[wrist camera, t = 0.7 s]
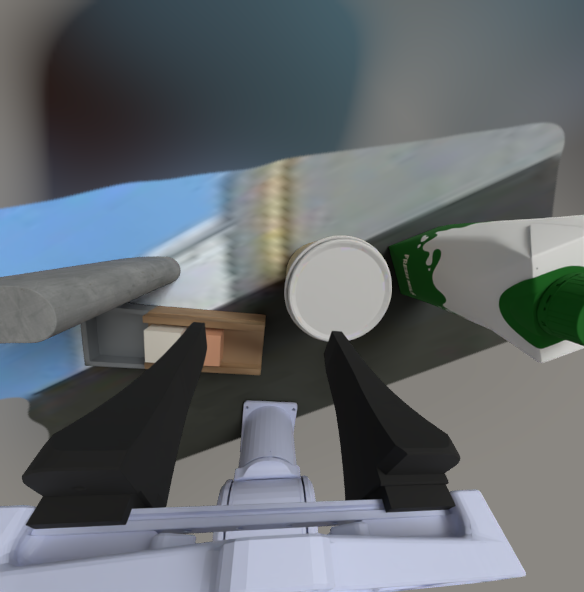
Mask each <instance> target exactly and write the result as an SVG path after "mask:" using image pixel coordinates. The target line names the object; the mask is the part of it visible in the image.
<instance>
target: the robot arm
mask: <svg viewBox="0 0 584 592" xmlns="http://www.w3.org/2000/svg"><path fill="white" fill-rule="evenodd" d="M206 352H207V339H206V328H205V323H201V322H193V323H191V325H190V326H189V327H188V328H187V329H186V331H185V332H184V333H183V334H182V335H181V336H180V338H179V339H178V340H177V341H176V342H175V343H174V344H173V345H172V346H171V347H170V348H169V349H168V351H167V352H166V353H165V354H164V355H163V356H162V357H160V358H159V359H158V360H157V361H156V362H155V363H154V364H153V365H152V366H151V367H150V368H149V369H148V370H147V371H145V372H144V373H143V374H142V375H141V376H140V377H138V378H137V379H136V380H135V381H133V382H132V383H131V384H130V385H128V386H127V387H126V388H124V389H123V390H122V391H121V392H119V393H118V394H116V395H115V396H114V397H112V398H111V399H109V400H108V401H106V402H105V403H103V404H102V405H100V406H99V407H98V408H96V409H95V410H93V411H92V412H90V413H88V414H87V415H85V416H84V417H82V418H80V419H79V420H77V421H75V422H74V423H72V424H70V425H69V426H67V427H65V428H64V429H62V430H60V431H58V432H57V433H55V434H53V435H52V437H51V438H50V439H49V440H48V441H47V443H46V444H45V445H44V446H43V448H42V449H41V450H40V452H39V453H38V454H37V456H36V457H35V459H34V460H33V462H32V463H31V464H30V466H29V467H28V469H27V470H26V471H25V473H24V474H23V475H22V480H23V483H24V484H26V485H27V486H28V487H30V488H31V489H33V490H34V491H36V492H37V493H39V494H41V495H42V496H43V497H42V499H41V501H40V502H39V504H38V506H37V507H35V506H28V505H17V506H0V592H393V591H403V590H412V589H422V588H431V587H440V586H449V585H461V584H471V583H481V582H488V581H496V580H503V579H509V578H516V577H523V576H526V572H525V571H524V569H523V567H522V565H521V564H520V562H519V560H518V558H517V556H516V554H515V553H514V551H513V549H512V547H511V546H510V544H509V542H508V540H507V538H506V537H505V536H504V533H503V531H502V530H501V528H500V526H499V524H498V522H497V521H496V519H495V517H494V515H493V514H492V512H491V510H490V508H489V506H488V505H487V503H486V501H485V499H484V498H483V496H482V494H481V492H480V491H479V490H456V491H451V492H449V490H448V489H447V486H446V484H448V480H447V477H446V475H445V472H447V471H448V470H450V469H451V468H453V467H454V466H455V465H457V464H458V463H459V461H460V456H459V454H458V452H457V450H456V448H455V446H454V444H453V443H452V441H451V439H450V438H449V436H448V435H447V434H446V433H445V432H443V431H442V430H440V429H439V428H437V427H436V426H435V425H433V424H432V423H430V422H429V421H427V420H426V419H425V418H423V417H422V416H421V415H419V414H418V413H417V412H416V411H414V410H413V409H412V408H410V407H409V406H408V405H407V404H406V403H404V402H403V401H402V400H401V399H400V398H399V397H398V396H397V395H395V394H394V393H393V392H392V391H391V390H390V389H389V388H388V387H387V386H386V385H385V384H384V383H383V382H382V381H381V380H380V379H379V378H378V377H377V376H376V374H375V373H374V372H373V371H372V370H371V369H370V368H369V366H368V365H367V364H366V363H365V361H364V360H363V359H362V358H361V356H360V355H359V354H358V353H357V351H356V350H355V349H354V347H353V346H352V345H351V343H350V342H349V340H348V339H347V338H346V336H345V335H344V334H343V332H342V331H332V332H331V335H330V338H329V341H328V344H327V347H326V350H325V352H324V358H325V367H326V373H327V377H328V381H329V385H330V389H331V393H332V397H333V401H334V406H335V410H336V416H337V423H338V429H339V437H340V445H341V453H342V463H343V474H344V485H345V501H319V502H316V500H315V494H314V489H313V485H312V482H311V481H310V480H309V479H308V477H307V476H300V468H299V466H297V464H296V456H295V446H294V437H293V433H294V425H295V419H296V412H297V404H296V403H294V402H271V401H248V400H247V401H245V402H244V408H243V421H242V434H241V447H240V452H241V454H240V462H239V468H237V469H235V475H234V481H233V480H230V479H229V480H227V481H226V483H225V484H224V485H223V486H222V488H221V490H220V493H219V497H218V502H217V505H216V506H191V507H166V505H167V500H168V494H169V490H170V485H171V479H172V475H173V471H174V466H175V462H176V457H177V453H178V448H179V444H180V440H181V436H182V431H183V427H184V423H185V419H186V415H187V412H188V408H189V405H190V402H191V399H192V397H193V394H194V391H195V388H196V385H197V383H198V380H199V377H200V374H201V371H202V368H203V365H204V361H205V357H206ZM246 406H248V407H246ZM293 408H295V409H293ZM300 477H301V478H300ZM338 525H339V526H338ZM319 526H334V527H332V528H331V529H330V533H329V534H327V535H325V534H321V533H318V527H319ZM206 532H213V541H212V542H204V543H195V541H196V537H195V535H186V534H188V533H206Z"/></svg>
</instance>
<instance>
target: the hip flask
mask: <svg viewBox="0 0 584 592" xmlns="http://www.w3.org/2000/svg"><path fill="white" fill-rule="evenodd" d="M179 276H180V266H179V264H178V263H177V262H176V261H175V260H174V259H172V258H170V257H135V258H125V259H118V260H111V261H105V262H98V263H92V264H85V265H78V266H72V267H65V268H58V269H52V270H45V271H39V272H32V273H25V274H19V275H12V276H5V277H0V343H36V342H40V341H43V340H45V339H48V338H50V337H52V336H54V335H56V334H59V333H61V332H63V331H65V330H67V329H70V328H72V327H74V326H76V325H78V324H81V323H83V322H85V321H87V320H89V319H92V318H94V317H96V316H98V315H100V314H103V313H105V312H107V311H109V310H111V309H114V308H116V307H118V306H120V305H122V304H125V303H127V302H129V301H131V300H133V299H136V298H138V297H140V296H142V295H144V294H147V293H149V292H151V291H153V290H155V289H158V288H160V287H162V286H164V285H166V284H169V283H171V282H173V281H175V280H176V279H178V277H179Z"/></svg>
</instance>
